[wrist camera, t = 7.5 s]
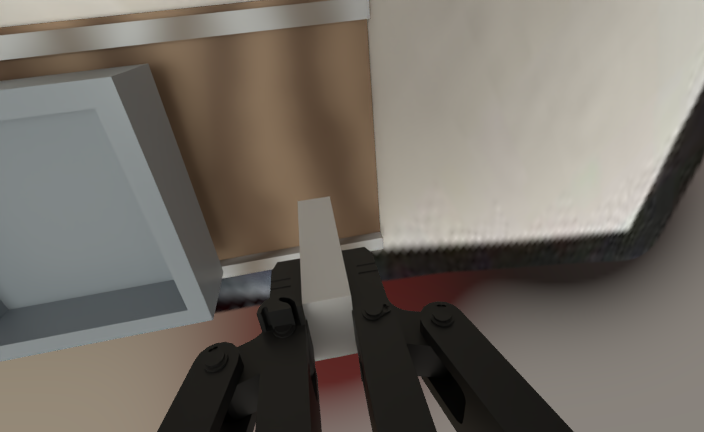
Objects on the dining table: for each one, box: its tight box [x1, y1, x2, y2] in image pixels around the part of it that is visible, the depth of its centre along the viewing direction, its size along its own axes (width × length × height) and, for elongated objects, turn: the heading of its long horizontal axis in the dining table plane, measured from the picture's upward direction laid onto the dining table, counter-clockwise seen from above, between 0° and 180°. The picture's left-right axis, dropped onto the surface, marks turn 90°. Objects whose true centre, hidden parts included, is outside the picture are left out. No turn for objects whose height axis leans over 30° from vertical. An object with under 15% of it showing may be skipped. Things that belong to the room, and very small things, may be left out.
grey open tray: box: [0, 64, 223, 361], centre depth 22 cm, size 15×15×8 cm
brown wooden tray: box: [0, 0, 384, 278], centre depth 25 cm, size 34×20×4 cm, turn 96°
